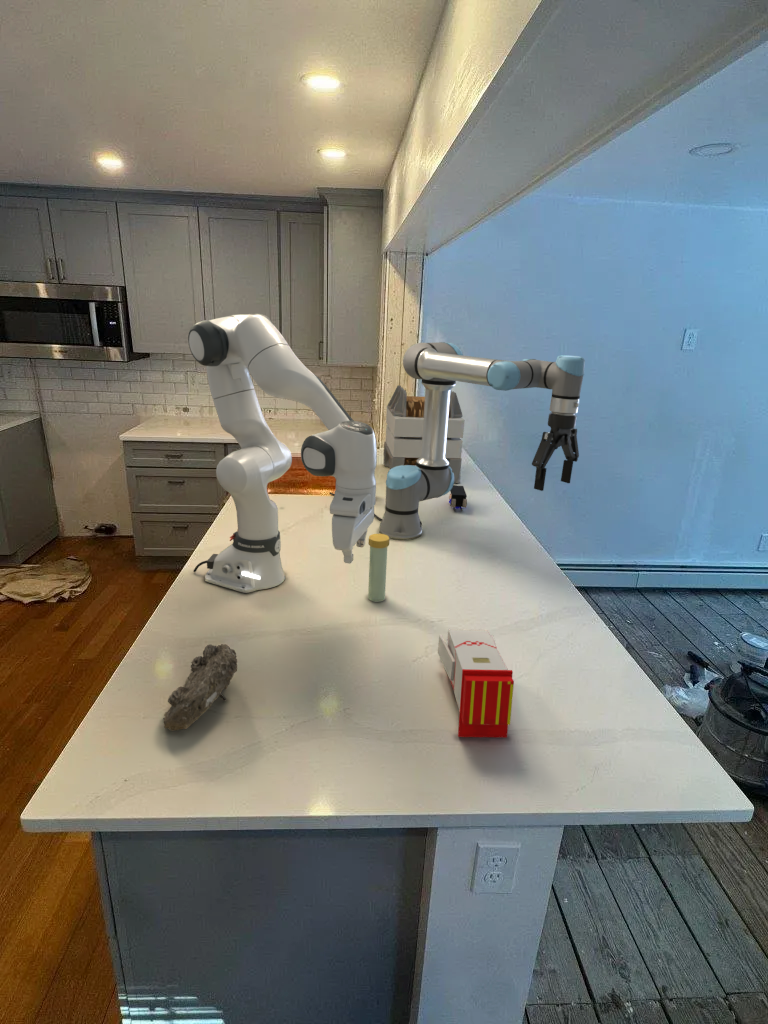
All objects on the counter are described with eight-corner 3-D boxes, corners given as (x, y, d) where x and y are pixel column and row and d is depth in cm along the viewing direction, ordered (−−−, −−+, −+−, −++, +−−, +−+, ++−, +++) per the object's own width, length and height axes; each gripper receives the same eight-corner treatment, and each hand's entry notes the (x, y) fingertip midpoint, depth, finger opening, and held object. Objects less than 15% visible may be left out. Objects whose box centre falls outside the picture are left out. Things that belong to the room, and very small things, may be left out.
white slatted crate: (382, 463, 289) (386, 382, 275) (445, 464, 293) (451, 384, 279) (390, 482, 257) (394, 392, 243) (460, 483, 261) (468, 394, 247)
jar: (381, 592, 158) (384, 534, 152) (387, 600, 154) (390, 541, 148) (365, 594, 157) (368, 536, 151) (371, 602, 153) (373, 543, 147)
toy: (488, 613, 130) (523, 677, 101) (484, 667, 133) (517, 744, 104) (435, 612, 130) (455, 676, 101) (432, 666, 133) (451, 743, 103)
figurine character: (467, 516, 223) (461, 500, 237) (469, 499, 220) (463, 483, 233) (450, 516, 223) (446, 499, 236) (452, 498, 220) (447, 483, 233)
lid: (385, 539, 153) (385, 532, 153) (392, 547, 148) (392, 540, 148) (365, 541, 151) (366, 534, 151) (372, 549, 147) (372, 542, 146)
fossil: (188, 646, 122) (238, 614, 117) (219, 675, 125) (269, 646, 120) (140, 724, 103) (196, 691, 98) (177, 757, 105) (234, 726, 100)
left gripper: (355, 482, 135) (355, 536, 140) (326, 508, 116) (326, 570, 121) (381, 484, 134) (379, 539, 138) (356, 512, 115) (355, 574, 119)
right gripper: (548, 419, 148) (537, 496, 155) (598, 411, 163) (586, 482, 171) (525, 414, 153) (515, 489, 160) (575, 407, 169) (564, 476, 176)
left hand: (354, 553), depth 129 cm, fingers open, 8 cm apart
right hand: (552, 485), depth 166 cm, fingers open, 13 cm apart
